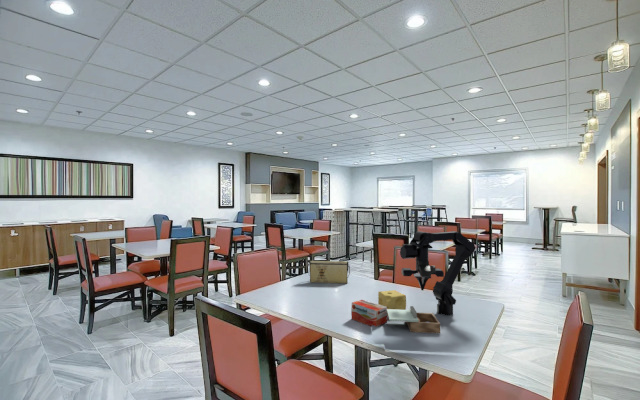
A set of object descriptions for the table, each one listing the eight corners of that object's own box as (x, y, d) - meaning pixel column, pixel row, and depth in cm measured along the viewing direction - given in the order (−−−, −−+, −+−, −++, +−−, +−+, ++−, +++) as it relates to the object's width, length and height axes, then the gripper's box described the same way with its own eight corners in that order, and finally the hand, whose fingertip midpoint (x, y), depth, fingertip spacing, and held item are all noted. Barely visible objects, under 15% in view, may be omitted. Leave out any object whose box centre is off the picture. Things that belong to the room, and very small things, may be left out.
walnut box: (432, 323, 139) (432, 313, 139) (440, 335, 127) (440, 323, 127) (405, 322, 140) (405, 312, 140) (410, 333, 128) (410, 322, 128)
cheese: (387, 317, 146) (387, 297, 146) (377, 310, 156) (377, 290, 156) (406, 315, 149) (406, 295, 149) (395, 308, 159) (395, 289, 159)
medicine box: (387, 323, 139) (387, 306, 139) (377, 329, 133) (377, 310, 133) (361, 315, 150) (361, 298, 150) (350, 319, 144) (350, 302, 144)
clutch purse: (350, 281, 213) (350, 260, 213) (350, 284, 206) (350, 261, 206) (307, 280, 216) (307, 259, 216) (306, 283, 209) (306, 261, 209)
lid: (413, 311, 140) (413, 304, 140) (418, 322, 128) (418, 314, 128) (386, 310, 141) (386, 303, 141) (389, 320, 129) (389, 313, 129)
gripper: (405, 260, 140) (405, 294, 139) (447, 261, 138) (447, 295, 138) (401, 256, 151) (401, 288, 151) (440, 256, 149) (440, 288, 149)
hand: (422, 290), depth 147 cm, fingers closed
